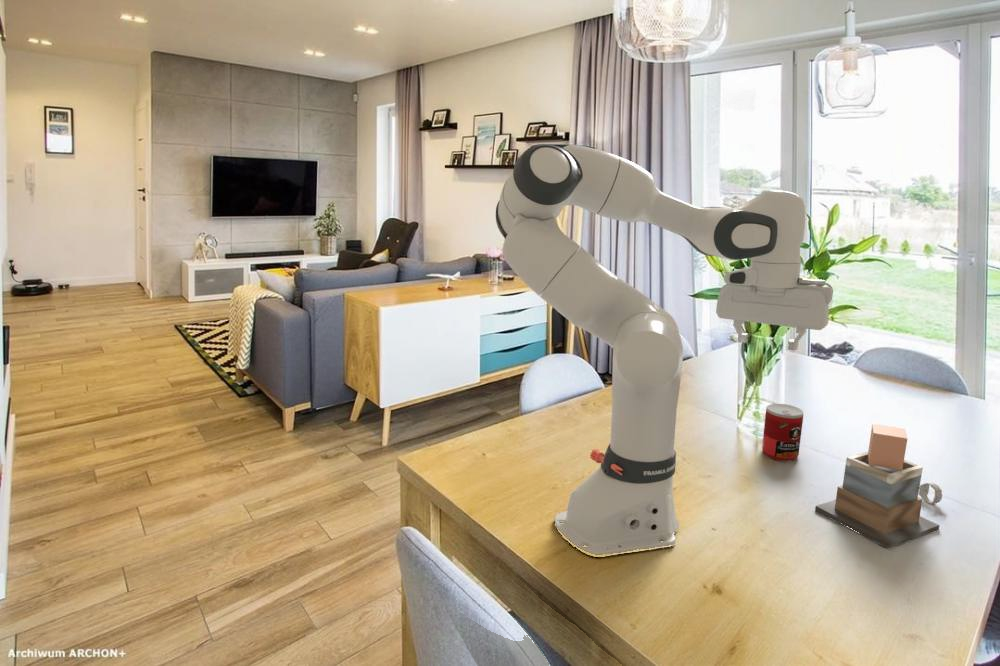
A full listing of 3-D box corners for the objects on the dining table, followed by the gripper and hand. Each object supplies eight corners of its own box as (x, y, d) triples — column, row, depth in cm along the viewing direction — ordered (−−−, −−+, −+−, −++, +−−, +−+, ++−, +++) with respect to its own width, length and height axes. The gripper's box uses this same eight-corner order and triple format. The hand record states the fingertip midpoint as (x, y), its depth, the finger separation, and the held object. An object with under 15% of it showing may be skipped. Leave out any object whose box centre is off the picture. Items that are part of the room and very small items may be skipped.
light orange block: (868, 464, 107) (873, 433, 106) (867, 454, 112) (872, 423, 110) (902, 470, 105) (907, 438, 104) (899, 459, 109) (904, 428, 108)
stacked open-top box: (888, 549, 102) (898, 486, 99) (815, 510, 114) (822, 454, 112) (938, 530, 108) (949, 470, 105) (863, 495, 120) (871, 441, 117)
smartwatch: (942, 506, 116) (945, 487, 115) (933, 507, 115) (936, 488, 114) (925, 497, 119) (928, 479, 118) (916, 499, 119) (919, 480, 118)
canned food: (777, 463, 134) (783, 417, 132) (754, 449, 142) (758, 405, 139) (806, 459, 136) (812, 413, 134) (781, 445, 144) (786, 402, 141)
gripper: (837, 279, 113) (828, 350, 116) (726, 270, 125) (721, 335, 128) (830, 282, 108) (821, 357, 111) (716, 274, 120) (710, 341, 123)
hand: (766, 345), depth 120 cm, fingers open, 8 cm apart
